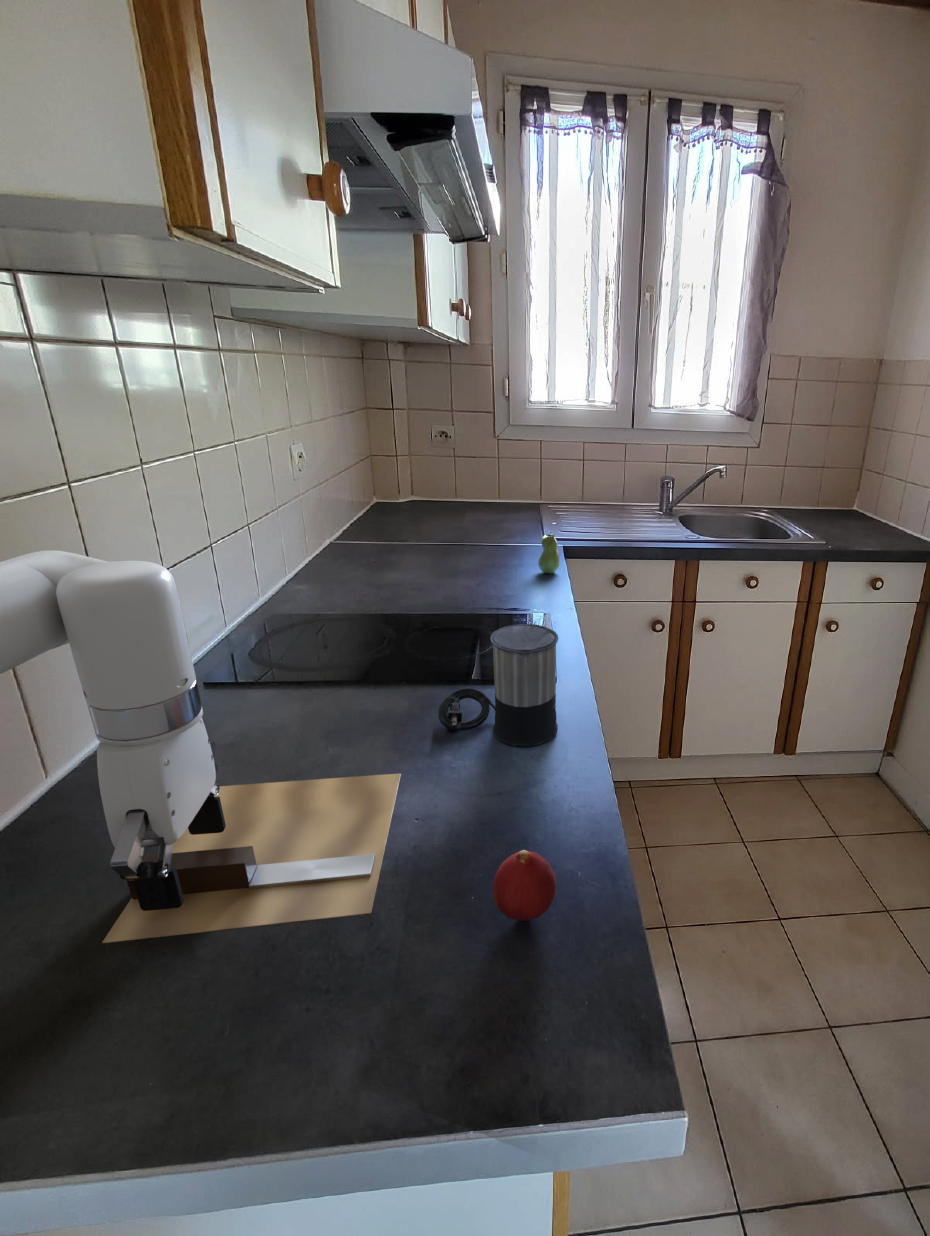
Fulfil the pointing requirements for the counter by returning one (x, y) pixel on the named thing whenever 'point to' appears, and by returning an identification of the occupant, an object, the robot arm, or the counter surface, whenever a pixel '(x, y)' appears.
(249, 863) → the knife
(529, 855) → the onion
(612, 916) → the counter surface
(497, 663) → the milk frother
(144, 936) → the chopping board
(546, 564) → the pear
